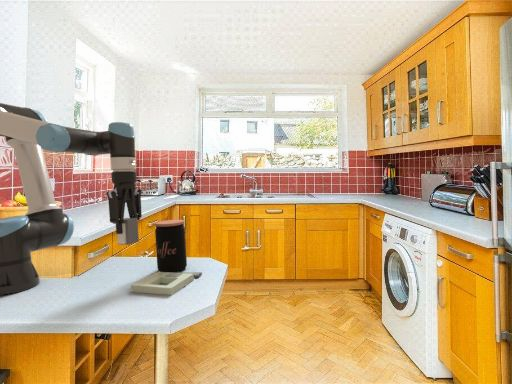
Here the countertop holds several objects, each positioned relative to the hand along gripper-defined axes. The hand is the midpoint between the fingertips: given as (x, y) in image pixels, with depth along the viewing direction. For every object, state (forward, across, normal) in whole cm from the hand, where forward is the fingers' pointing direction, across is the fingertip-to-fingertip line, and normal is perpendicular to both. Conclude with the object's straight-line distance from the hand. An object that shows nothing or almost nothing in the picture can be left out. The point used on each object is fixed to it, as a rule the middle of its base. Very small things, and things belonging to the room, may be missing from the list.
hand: (127, 241), depth 98 cm
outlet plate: (+13, 0, -13) cm, 19 cm away
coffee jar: (+14, +15, -6) cm, 21 cm away
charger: (0, 0, 0) cm, 0 cm away
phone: (+13, +9, -17) cm, 24 cm away
